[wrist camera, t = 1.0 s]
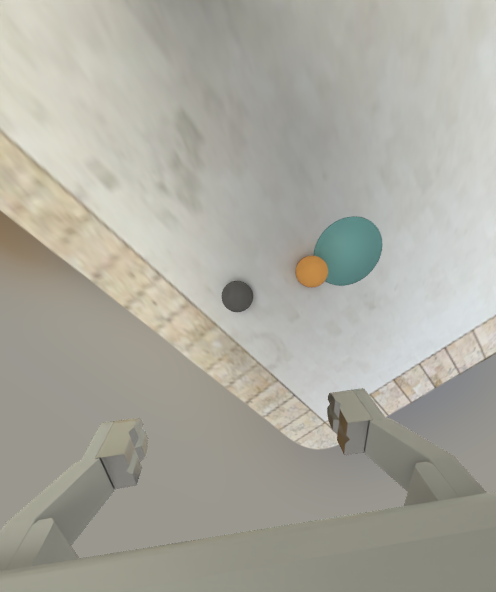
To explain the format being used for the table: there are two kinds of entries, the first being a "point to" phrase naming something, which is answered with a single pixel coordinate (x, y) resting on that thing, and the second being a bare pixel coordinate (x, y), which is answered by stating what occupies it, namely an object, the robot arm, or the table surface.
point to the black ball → (237, 296)
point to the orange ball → (311, 271)
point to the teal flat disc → (349, 250)
